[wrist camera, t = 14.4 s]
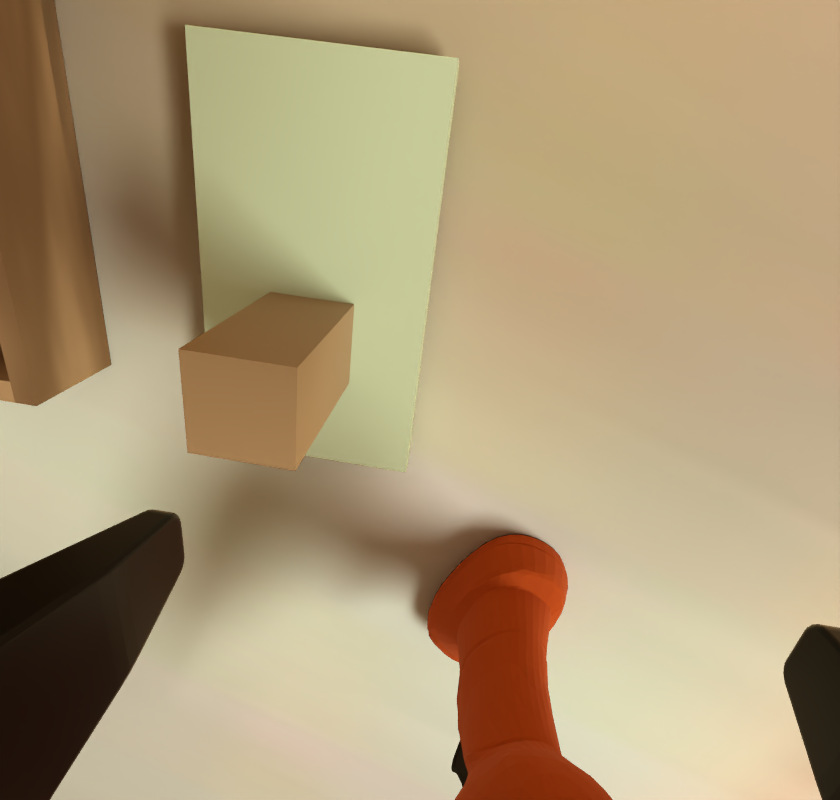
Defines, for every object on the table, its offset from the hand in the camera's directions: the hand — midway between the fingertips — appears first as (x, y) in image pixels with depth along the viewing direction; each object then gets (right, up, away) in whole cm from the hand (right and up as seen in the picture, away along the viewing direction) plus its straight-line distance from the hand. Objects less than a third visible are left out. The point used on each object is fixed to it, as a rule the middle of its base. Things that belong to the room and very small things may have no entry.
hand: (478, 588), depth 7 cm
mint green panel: (-4, +7, +11) cm, 14 cm away
